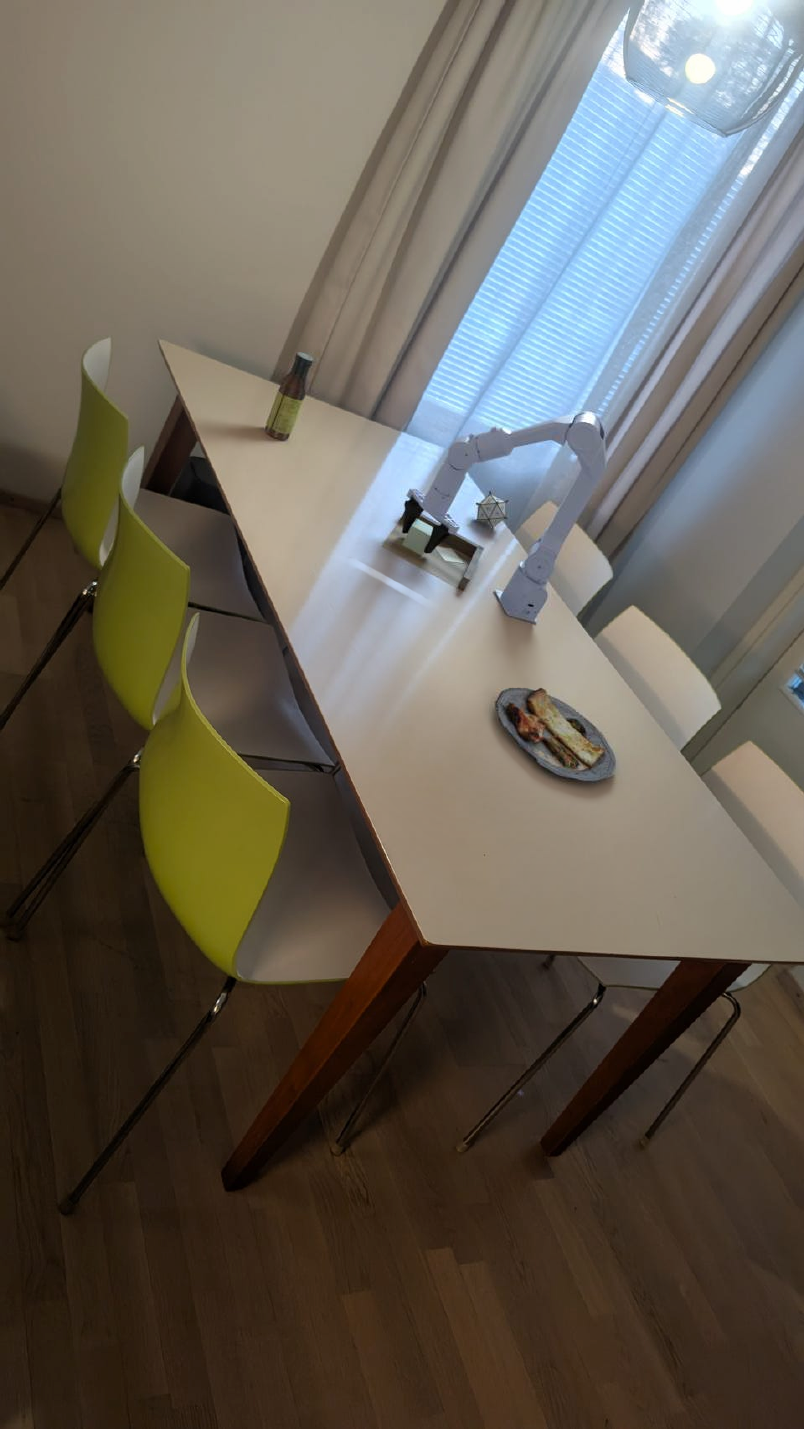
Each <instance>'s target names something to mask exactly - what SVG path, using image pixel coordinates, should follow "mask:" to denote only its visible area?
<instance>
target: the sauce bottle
mask: <svg viewBox="0 0 804 1429" xmlns="http://www.w3.org/2000/svg"><path fill="white" fill-rule="evenodd" d="M313 363H314V359H313V357H312V356H311V355H309V354H307V353H305V352H302V351H297V353H296V355H295V358H294V363H293V365H292V368H291V370H290V372H289V373H288V374H287V375H285V376H284V377H283V378H282V380H281V383H280V386H279V387H278V390H277V393H276V396H275V398H274V401H273V404H272V406H271V409H270V412H269V415H268V418H267V420H266V425H265V428H264V430H265V431H266V433H268V435H269V436H271V437H272V438H274V439H277V440H281V441H286V440H287V441H288V439H289V438H290V436H291V434H292V433H293V431H294V427H295V424H296V422H297V419H298V416H299V414H300V411H301V410H302V405H303V403H304V400H305V398H306V395H307V394H306V392H307V378H308V374H309V371H310V369H311V366H313Z"/></svg>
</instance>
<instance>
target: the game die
mask: <svg viewBox="0 0 804 1429" xmlns="http://www.w3.org/2000/svg"><path fill="white" fill-rule="evenodd" d="M509 501H510V500H508V499H507V500H503V499H501V498H499V497H497V496H495V495H493V494H492V491H491V490H489V491H488V495H487V496H486V497H485V498H483V500H481V501H480V502H475V505H476V506H477V513H476V519H475V520H476V522H480V523H483V524H484V525H487V526H489V527H490V528H491V530H492V529H493V531H494V530H495V527H496V526H497V525H498V524H500V523H501V522H502V521H503V520H508V519H509V518H508V517H507V516H506V510H507V503H508V502H509Z"/></svg>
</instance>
